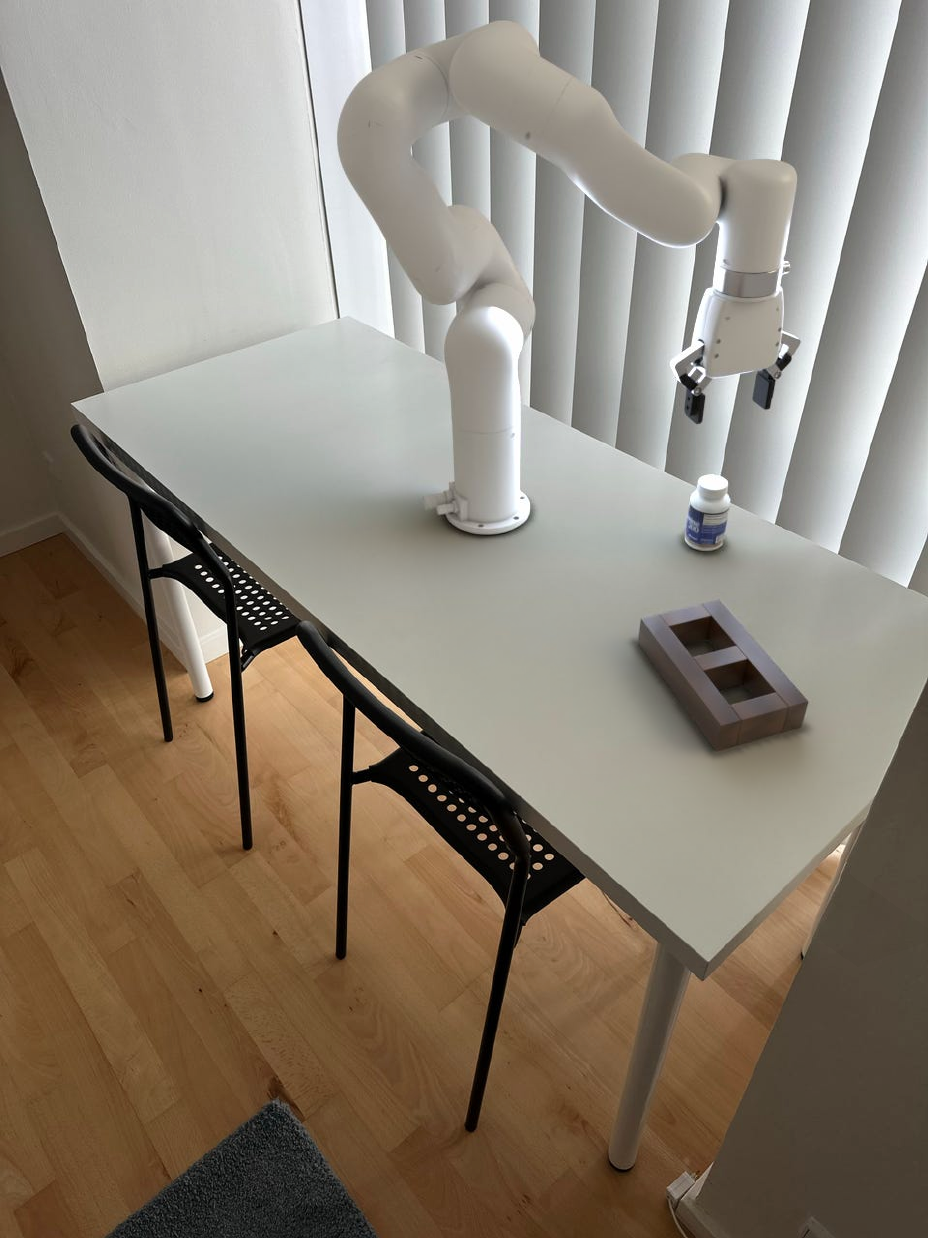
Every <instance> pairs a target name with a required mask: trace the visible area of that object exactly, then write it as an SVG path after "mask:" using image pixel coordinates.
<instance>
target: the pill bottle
mask: <svg viewBox="0 0 928 1238" xmlns="http://www.w3.org/2000/svg"><path fill="white" fill-rule="evenodd" d="M728 489H729V482H728V480H727V479H726V478H725V477H723V476H722V475H717V474H706V475H705V474H704V475H703V476H701V477H699V478H698V481H697V484H696V490H694V491H693V492H692V493H691V495H690V498H689V499H690V500H689V504H688V509H687V510H688V511H687V518H686V526H685V532H684V540H685V543H686V544H687V545H688V546H689V547H690V548H691V549H694V550H697V551H702V552H712V551H714V550H715V551H716V550H717V549H719V548H721V547H722V546H723V543H724V541H725V537H726V529H727V524H728V519H729V513H730V507H731V498H730V496H729V494H728Z"/></svg>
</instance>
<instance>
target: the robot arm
mask: <svg viewBox="0 0 928 1238" xmlns="http://www.w3.org/2000/svg"><path fill="white" fill-rule="evenodd" d="M466 116H467V117H468V116H471V117H473V118H475V119H476V120H478V121H480V122H482V123H484V124H485V125H487V126H489V127H490V128H492V129H493V130H495V131H497V132H498V133H500V134H502V135H503V136H506V137H508V138H509V139H511V140H513V141H514V142H515V143H518V144H519V145H521V146H523V147H525V148H526V149H528V150H530V151H531V152H533V153H535V154H536V155H538V156H539V157H541V158H543V159H545V160H546V161H548V162H549V163H550V164H553V165H555V167H557V168H558V169H560V170H561V171H562V172H564V174H565V175H566V176H567V177H568V178H569V180H570V181H571V182H572V183H573V184H574V185H575V186H576V187H577V188H579V190H581V191H582V192H583V193H584V194H585V195H586V196H587V197H588V198H589V199H590V200H591V201H592V202H593V203H595V204H596V205H597V206H598V207H599V208H600V209H602V210H603V211H604V212H605V213H606V214H608V215H609V216H611V217H612V218H614V219H615V220H616V221H618V222H620V223H622V224H623V225H625V226H627V227H629V228H630V229H632V230H634V231H635V232H637V233H638V234H640V235H642V236H645V237H646V238H647V239H649V240H651V241H653V242H655V243H657V244H659V245H662V246H664V247H668V248H673V249H686V248H689V247H692V246H695V245H697V244H698V243H700V242H702V241H704V240H705V238H707V237H708V235H709V234H710V233H711V232H712V230H713V228H714V227H715V224H718V226H719V234H718V241H717V249H716V257H715V265H714V272H713V273H714V274H713V280H712V281H713V282H712V287H708V288H706V289H705V291H704V293H703V296H702V299H701V303H700V305H699V309H698V312H697V316H696V320H695V324H694V328H693V329H694V330H693V334H692V339H691V345H690V346H689V347H688V348H686V349H685V350H683V351H682V352H681V353H679V354H678V355H676V356H675V357H673V358H672V359H671V360H670V362H669V365H670V368H671V369H672V372H673V374H674V376H675V377H674V378H675V380H677V381H678V382H679V383H680V384H681V385H682V386H683V387H684V388H685V389H686V390H685V399H684V408H683V410H684V414H685V415H686V416H687V418H688V419H689V420H691V421H692V422H693V423H694V424H695V425H700V424H702V423H703V420H704V418H703V417H704V412H705V410H704V409H705V405H706V394H704V393H703V391H704V390H705V389H706V388H707V387H708V385H709V384H710V383H711V382H712V380H713V379H720V378H721V379H722V378H727V377H732V376H737V375H742V374H747V373H751V372H757V373H756V375H755V381H754V386H753V392H752V401H753V402H754V403H755V404H756V405H757V406H759V408H760V409H763V410H765V411H768V410H770V409H771V406H772V401H773V398H774V392H775V387H776V382H777V380H779V379H781V377H782V375H783V373H782V372H783V371H784V370H785V369H786V367H788V366H789V364H790V363H791V362H792V360H793V356H794V355H795V354H796V352H797V350H798V348H799V347H800V345H801V343H802V342H801V339H799V338H798V337H796V336H795V335H793V334H791V333H788V332H786V331H784V330H783V327H784V308H785V307H784V305H785V304H784V302H785V301H784V289H783V287H782V286H781V282H782V277H783V275H785V274H788V273H789V272H790V271H791V265H790V262H789V261H787V260H786V261H785V256H786V252H787V246H788V239H789V233H790V229H791V228H790V227H791V222H792V215H793V209H794V204H795V198H796V193H797V185H798V174H797V171H796V169H795V167H794V166H793V165H792V164H790V163H788V162H786V161H783V160H778V159H773V158H771V159H770V158H753V159H747V160H741V159H735V158H729V157H723V156H718V155H714V154H708V153H702V152H688V153H684V154H681V155H679V156H677V157H676V158H674V159H673V160H671V161H670V162H669V163H667V162H666V161H664V160H663V159H661V158H659V157H657V155H655V154H654V153H651V152H650V151H648V150H647V149H646V148H644V147H643V146H642V145H641V144H639V143H638V142H637V141H636V140H634V138H632V137H631V136H630V134H629V133H628V132H627V131H626V130H625V129H624V128H623V127H622V125H621V124H620V122H619V121H618V119H617V117H616V116H615V114H614V111H613V109H612V108H611V106H610V104H609V102H608V100H606V98H605V97H604V96H603V95H602V93H601V92H600V91H599V90H597V89H595V88H594V87H593V86H591V85H590V84H587V83H585V82H584V81H582V80H580V79H579V78H577V77H575V76H574V75H572V74H570V73H569V72H567V71H565V70H563V69H562V68H561V67H559V66H557V65H555V64H554V63H552V62H550V61H549V60H547V59H546V58H543V57H542V56H541V52H540V49H539V46H538V43H537V41H536V39H535V38H534V36H533V35H532V33H531V32H530V31H529V30H528V29H526V28H525V27H524V26H523V25H521V24H519V23H518V22H514V21H512V20H506V19H505V20H504V19H503V20H494V21H491V22H489V23H486V24H483V25H481V26H479V27H476V28H474V29H471V30H468V31H466V32H463V33H460V34H458V35H454V36H451V37H448V38H445V39H443V40H439V41H436V42H434V43H431V44H428V45H425V46H422V47H418V48H416V49H413V50H410V51H408V52H406V53H403V54H401V55H399V56H397V57H395V58H394V59H392V60H390V61H388V62H387V63H384V64H382V65H379V66H378V67H376V68H374V69H373V70H372V71H370V72H369V73H367V74H366V75H365V76H364V77H363V78H362V79H360V80H359V81H358V83H357V84H356V85H355V86H354V87H353V89H352V90H351V91H350V93H349V95H348V97H347V98H346V100H345V102H344V104H343V107H342V109H341V112H340V116H339V119H338V123H337V130H336V145H337V152H338V157H339V160H340V165H341V167H342V169H343V172H344V174H345V176H346V178H347V180H348V181H349V183H350V185H351V186H352V188H353V190H354V191H355V193H356V195H357V196H358V197H359V198H360V201H361V202H362V204H363V205H364V206H365V208H366V210H367V211H368V213H369V214H370V215H371V217H372V219H373V221H374V222H375V224H376V226H377V227H378V229H379V231H380V233H381V235H382V236H383V239H384V240H385V241H386V243H387V246H389V248H390V249H391V252H392V253H393V254H394V256H395V258H396V260H397V261H398V263H399V265H400V266H401V268H402V269H403V271H404V272H405V275H406V276H407V278H408V280H409V281H410V283H411V285H412V286H413V288H414V289H415V291H416V292H417V293H418V295H420V296H421V297H422V298H423V299H424V300H425V301H427V302H428V303H430V304H433V305H437V306H448V305H451V304H453V303H456V302H457V301H459V302H460V304H461V305H462V306H461V308H460V309H459V310H458V312H457V314H455V316H454V317H453V319H452V321H451V323H450V324H449V327H448V329H447V331H446V335H445V338H444V343H443V357H444V364H445V370H446V374H447V378H448V387H449V396H450V412H451V413H450V414H451V428H452V451H453V452H452V453H453V455H452V456H453V476H454V477H453V478H454V481H450V482H448V489H446V490H443V492H442V493H437V494H431V495H426V496H423V497H422V502H423V507H424V509H425V510H431V509H435V510H436V513H437V515H438V516H441V515H445V516H446V519H447V520H448V522H449V523H451V525H452V526H454V527H456V528H457V529H459V530H461V531H464V532H467V533H470V534H474V535H498V534H503V533H506V532H509V531H513V530H515V529H516V528H519V527H520V526H522V525H523V524H524V523H525V522H526V521H527V520H528V519H529V516H530V515H531V514H530V513H531V503H530V500H529V498H528V497H527V495H526V494H525V493H523V492H522V491H521V489H520V488H521V486H520V485H521V391H520V389H521V388H520V382H519V381H520V380H519V376H518V375H519V374H518V361H519V357H520V353H521V351H522V349H523V348H524V345H525V343H526V341H527V340H528V338H529V336H530V335H531V333H532V330H533V328H534V325H535V322H536V321H535V320H536V305H535V302H534V299H533V296H532V294H531V290H530V288H529V287H528V285H527V284H526V282H525V279H524V278H523V276H522V274H521V272H520V271H519V269H518V266H517V264H516V263H515V261H514V259H513V258H512V256H511V254H510V252H509V251H508V249H507V247H506V245H505V243H504V242H503V240H502V238H501V236H500V235H499V232H498V231H497V230H496V227H494V225H493V224H492V222H491V221H490V220H489V219H488V218H487V217H486V216H485V215H484V214H483V213H482V212H480V211H479V210H478V209H476V208H474V207H472V206H470V205H466V204H451V205H447V204H446V202H445V200H444V199H443V198H442V196H441V194H440V191H439V190H438V188H437V185H436V184H435V182H434V181H433V180H432V178H431V177H430V175H429V174H428V173H427V171H426V170H425V169H424V168H423V167H422V166H421V165H420V164H419V163H418V162H417V161H416V160H415V158H414V157H413V155H412V151H411V150H412V146H413V145H414V144H415V142H416V141H418V140H419V139H420V138H422V137H424V135H426V134H427V133H428V132H430V131H431V130H432V129H433V128H435V127H437V126H439V125H441V124H445V123H448V122H450V121H454V120H457V119H460V118H463V117H466ZM781 345H782V347H781ZM780 349H781V350H780ZM690 365H691V366H693V368H692V369H691V370H690V372H689V373H688V371H687V368H688V366H690Z"/></svg>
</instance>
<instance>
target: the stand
mask: <svg viewBox="0 0 928 1238" xmlns="http://www.w3.org/2000/svg"><path fill="white" fill-rule="evenodd" d="M639 620H640V622H639V629H638V636H637V637H638V639H637V644H638V646H639V648H641V650H642V652H643V653H644V654H645V656H646V657H647V658H648V659H649V661H650V662H651V664H652V665H653V667H654V668H655V669H656V670H657V672H658V673H659V675H660V676H661V678H662V679H663V680H664V681H665V683H666V684H667V686H668V687H669V689H670V690H671V691H672V693H673V694H674V695H675V697H676V698H677V699H678V701H679V702H680V704H681V705H682V707H683V708H684V709H685V711H686V712H687V713H688V714H689V716H690V717H691V719H692V720H693V721H694V723H695V724H696V726H697V727H698V728H699V730H700V732H701V733H702V734H703V736H704V737H705V738H706V739H707V741H708V742H709V744H710V745H711V746H712V748H713V749H714V750H715V752H717V751H722V750H725V749H728V748H733V747H735V746H739V745H742V744H746V743H748V742H752V741H756V740H760V739H764V738H767V737H771V736H774V735H778V734H781V733H785V732H789V731H791V730H796V729H798V728H799V729H800V728H802V727H803V723H804V720H805V716H806V713H807V709H808V706H809V700H808V699H807V698H806V697H805V696H804V694H803V693H802V692H801V691H800V690H799V689H798V688H797V686H796V685H795V684H794V682H793V681H791V680H790V678H789V677H788V676H787V675H786V673H784V672H783V670H782V669H781V667H779V666H778V665H777V663H776V662H775V661H774V660H773V659H772V658H771V657H770V655H769V654H768V653H767V652H766V651H765V649H764V648H763V647H762V646H761V645H760V644H759V643H758V642H757V641H756V640H755V638H754V637H753V636H752V634H750V632H749V631H748V630H747V629H746V628H745V627H744V626H743V624H741V622H740V621H739V620H738V619H737V617H736V616H734V614H733V613H732V612H731V610H730V609H729V608H727V606H726V605H725V604H724V603H723V602H722V601H721V600H720V599H715V600H711V601H706V602H703V603H699V604H696V605H691V606H688V607H682V608H679V609H675V610H671V611H667V612H663V613H659V614H654V615H651V616H646V617H643V618H642V617H641V618H640V619H639ZM705 641H707V642H708V643H709V644H710V646H711V647H712V648H713V649H714V651H711V652H707V653H702V654H699V655H696V656H692V655H691V654H690V652H689V651H688V650H687V648H686V646H691V645H695V644H698V643H701V642H705ZM739 685H743V687H745V688H746V690H747V691H748V692H749V694H750V695H752V697H753V698H751V699H747V700H743V701H740V702H736V703H732V704H730V703H729V702H728V701H727V699H726V698H725V697H724V696H723V695H722V693H721V692H720V691H721V690H725V689H729V688H732V687H735V686H739Z"/></svg>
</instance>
